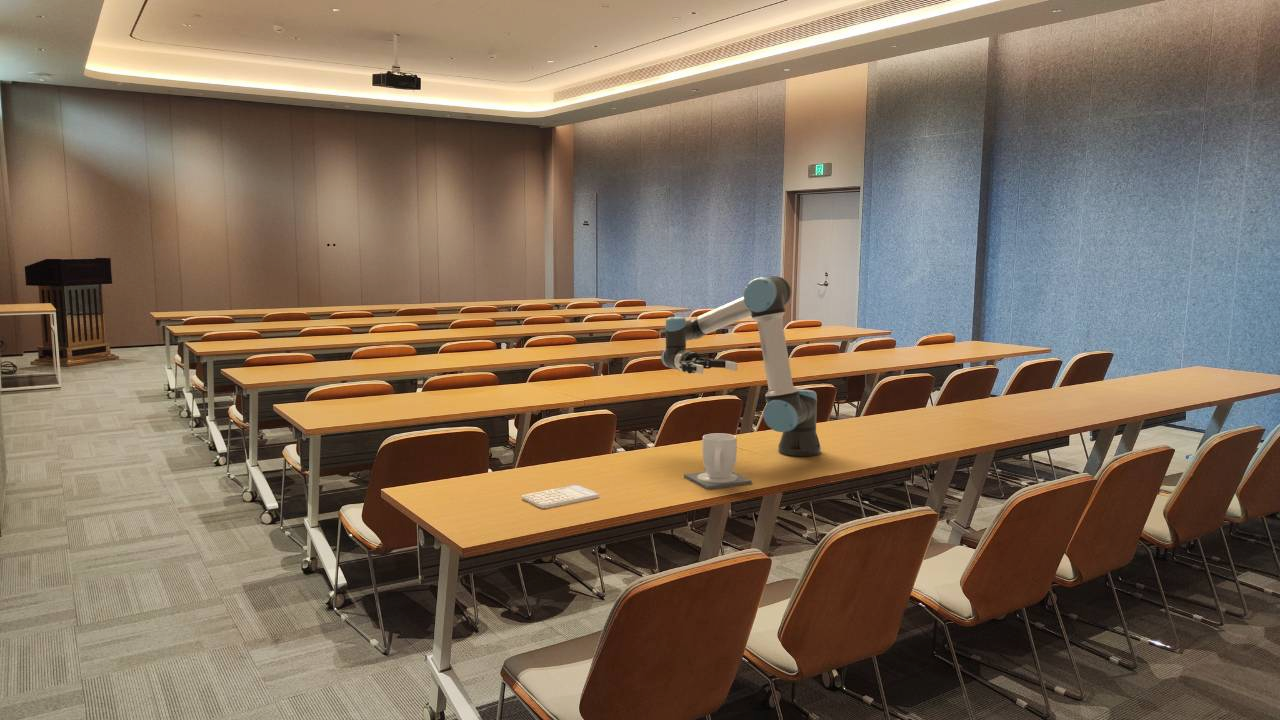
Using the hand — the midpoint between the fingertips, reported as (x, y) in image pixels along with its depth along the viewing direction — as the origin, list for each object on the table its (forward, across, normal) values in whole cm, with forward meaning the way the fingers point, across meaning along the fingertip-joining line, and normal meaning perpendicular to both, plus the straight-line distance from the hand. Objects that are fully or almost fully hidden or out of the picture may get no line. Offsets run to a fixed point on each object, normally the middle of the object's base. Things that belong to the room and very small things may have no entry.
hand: (719, 368), depth 295 cm
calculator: (+14, +64, -34) cm, 74 cm away
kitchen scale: (+19, +13, -33) cm, 40 cm away
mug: (+19, +12, -32) cm, 40 cm away
